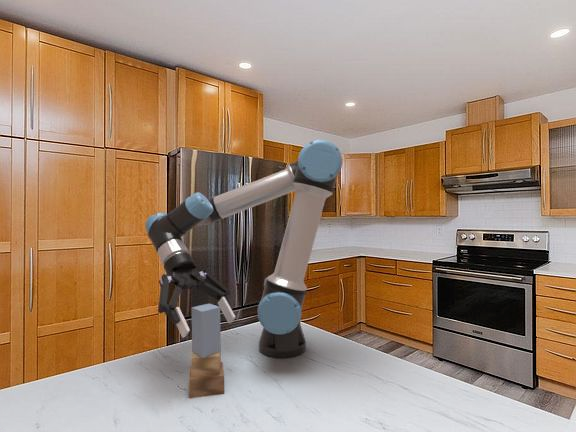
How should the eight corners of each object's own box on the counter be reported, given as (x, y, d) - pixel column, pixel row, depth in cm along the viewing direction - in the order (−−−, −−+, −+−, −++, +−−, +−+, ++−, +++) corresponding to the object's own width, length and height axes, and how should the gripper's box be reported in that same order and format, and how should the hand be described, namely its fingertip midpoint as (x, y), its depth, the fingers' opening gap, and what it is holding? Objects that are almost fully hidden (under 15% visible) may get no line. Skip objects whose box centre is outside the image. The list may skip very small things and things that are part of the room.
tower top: (220, 363, 87) (220, 346, 87) (219, 375, 80) (219, 356, 80) (194, 365, 86) (194, 347, 86) (191, 377, 79) (191, 358, 79)
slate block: (209, 346, 86) (209, 303, 86) (220, 351, 83) (220, 307, 83) (192, 351, 83) (191, 307, 83) (202, 358, 79) (201, 311, 79)
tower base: (222, 379, 88) (222, 361, 88) (224, 394, 80) (224, 375, 80) (190, 382, 86) (190, 365, 86) (189, 399, 78) (189, 379, 78)
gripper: (208, 264, 103) (241, 323, 93) (126, 274, 84) (156, 350, 74) (219, 248, 100) (255, 307, 90) (136, 254, 80) (169, 331, 71)
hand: (210, 326), depth 82 cm, fingers open, 13 cm apart
